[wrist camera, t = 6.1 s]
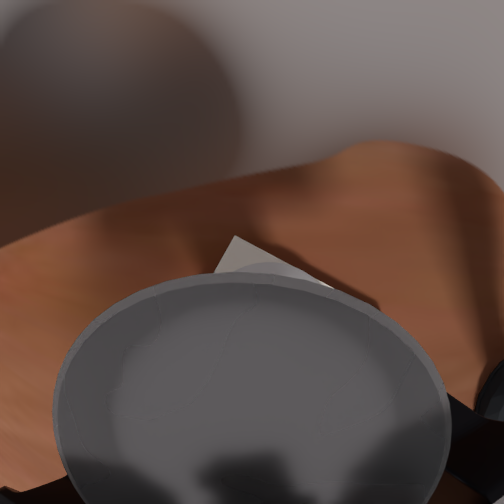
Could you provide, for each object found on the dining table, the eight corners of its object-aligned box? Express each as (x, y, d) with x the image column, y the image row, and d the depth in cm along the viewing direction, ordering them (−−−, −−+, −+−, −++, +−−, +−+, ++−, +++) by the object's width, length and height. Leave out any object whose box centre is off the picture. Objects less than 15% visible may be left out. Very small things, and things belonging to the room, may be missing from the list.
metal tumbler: (260, 396, 15) (218, 599, 2) (207, 330, 16) (10, 401, 3) (329, 345, 16) (488, 466, 2) (276, 277, 17) (282, 168, 3)
